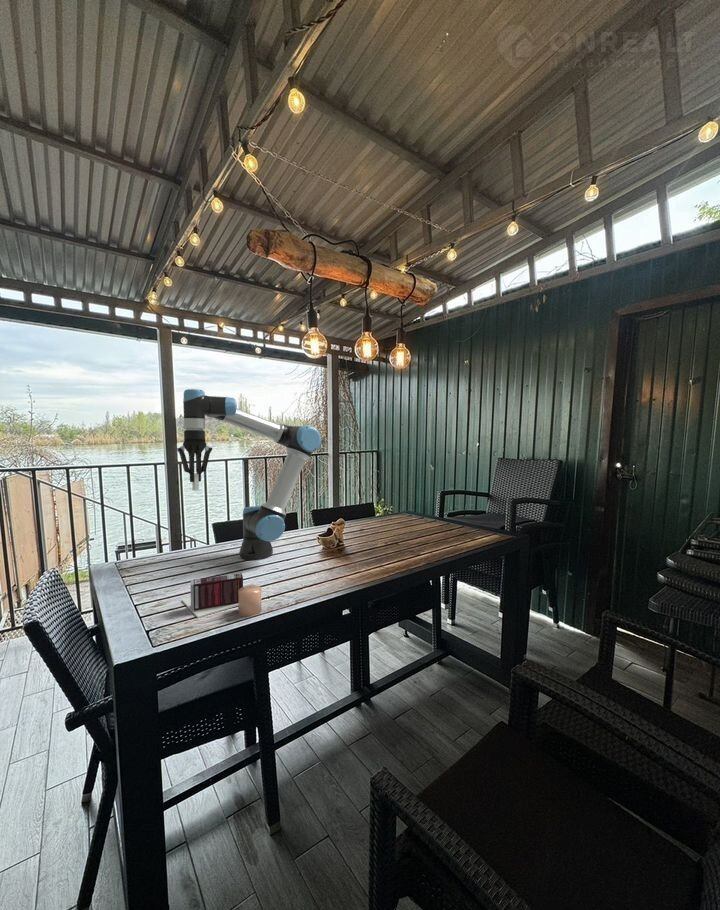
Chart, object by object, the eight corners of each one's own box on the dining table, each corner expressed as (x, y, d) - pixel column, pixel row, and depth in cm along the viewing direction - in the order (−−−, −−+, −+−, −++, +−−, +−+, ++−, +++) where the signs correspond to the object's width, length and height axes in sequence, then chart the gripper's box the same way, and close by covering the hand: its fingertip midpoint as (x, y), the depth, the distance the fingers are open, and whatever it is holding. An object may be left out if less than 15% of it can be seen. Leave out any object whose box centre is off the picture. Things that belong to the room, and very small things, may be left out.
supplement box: (190, 605, 120) (241, 597, 126) (190, 611, 115) (243, 603, 122) (190, 578, 119) (241, 572, 126) (190, 584, 115) (243, 577, 121)
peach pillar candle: (255, 604, 122) (255, 583, 121) (265, 611, 117) (265, 590, 116) (234, 610, 117) (234, 589, 117) (244, 618, 112) (244, 596, 112)
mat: (231, 587, 135) (231, 586, 135) (250, 601, 123) (250, 600, 123) (181, 600, 124) (181, 599, 124) (197, 618, 112) (197, 616, 112)
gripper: (208, 430, 150) (209, 487, 151) (173, 429, 141) (174, 490, 142) (215, 429, 144) (215, 489, 145) (179, 429, 136) (180, 492, 137)
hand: (195, 490), depth 144 cm, fingers closed
